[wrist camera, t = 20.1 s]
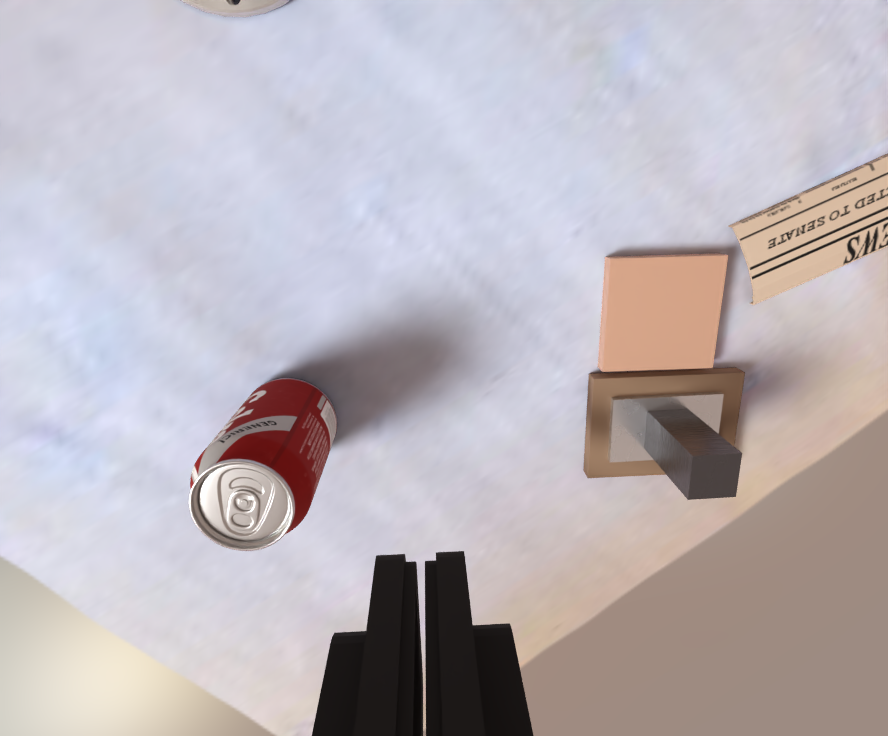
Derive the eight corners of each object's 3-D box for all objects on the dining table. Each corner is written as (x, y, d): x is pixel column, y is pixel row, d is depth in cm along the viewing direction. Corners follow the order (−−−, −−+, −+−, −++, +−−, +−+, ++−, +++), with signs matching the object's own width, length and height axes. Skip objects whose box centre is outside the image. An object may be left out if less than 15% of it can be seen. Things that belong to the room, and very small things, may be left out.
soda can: (345, 384, 40) (314, 463, 28) (331, 465, 42) (296, 569, 30) (252, 366, 39) (181, 439, 28) (241, 449, 41) (171, 550, 30)
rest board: (589, 373, 40) (593, 379, 39) (735, 367, 40) (745, 372, 39) (583, 470, 43) (587, 478, 41) (721, 463, 43) (730, 471, 42)
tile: (610, 258, 36) (728, 255, 37) (603, 255, 38) (716, 252, 38) (602, 371, 39) (712, 368, 39) (595, 365, 40) (702, 361, 41)
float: (611, 397, 39) (652, 443, 32) (719, 391, 40) (785, 435, 32) (607, 459, 41) (646, 515, 34) (712, 453, 41) (773, 508, 34)
